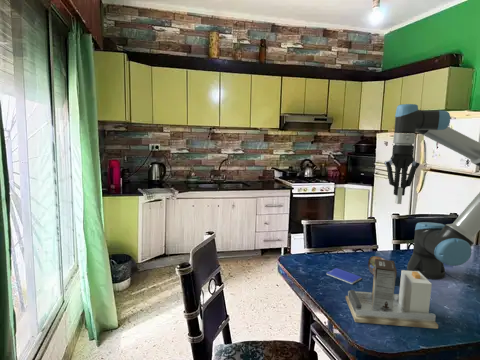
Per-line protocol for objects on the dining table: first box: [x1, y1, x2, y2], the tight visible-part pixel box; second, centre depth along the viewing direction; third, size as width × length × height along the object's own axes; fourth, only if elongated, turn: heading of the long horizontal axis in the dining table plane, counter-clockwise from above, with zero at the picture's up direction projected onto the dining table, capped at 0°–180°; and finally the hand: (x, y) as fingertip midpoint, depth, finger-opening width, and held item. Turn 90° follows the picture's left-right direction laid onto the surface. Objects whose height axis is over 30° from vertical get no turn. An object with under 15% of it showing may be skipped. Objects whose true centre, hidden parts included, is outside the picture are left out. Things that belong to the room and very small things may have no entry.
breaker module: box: [398, 269, 433, 313], centre depth 116 cm, size 6×10×13 cm, turn 174°
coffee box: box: [372, 259, 397, 310], centre depth 117 cm, size 9×6×16 cm
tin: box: [367, 255, 398, 280], centre depth 146 cm, size 15×3×8 cm, turn 18°
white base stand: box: [347, 289, 437, 323], centre depth 118 cm, size 25×13×4 cm, turn 84°
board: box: [345, 295, 439, 330], centre depth 118 cm, size 26×16×1 cm, turn 84°
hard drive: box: [326, 267, 363, 285], centre depth 147 cm, size 2×8×12 cm
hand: (398, 203), depth 136 cm, fingers closed
